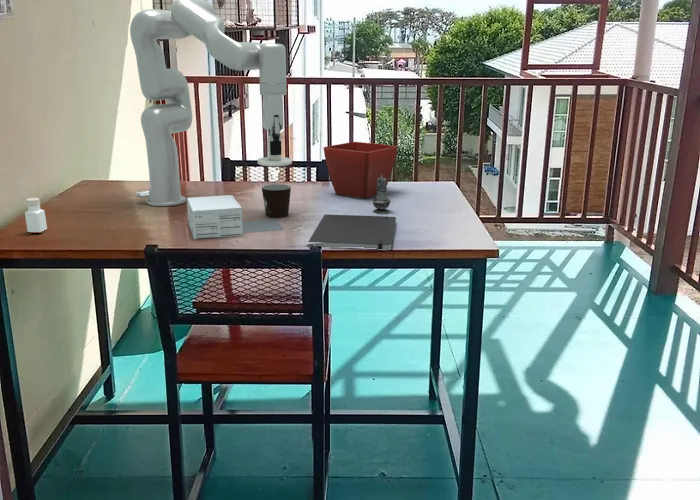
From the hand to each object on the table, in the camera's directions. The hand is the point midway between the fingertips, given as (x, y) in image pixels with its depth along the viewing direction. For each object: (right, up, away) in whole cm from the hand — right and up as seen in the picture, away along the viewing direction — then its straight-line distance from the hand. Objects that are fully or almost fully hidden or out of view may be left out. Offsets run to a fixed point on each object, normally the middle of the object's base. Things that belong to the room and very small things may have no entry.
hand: (274, 153), depth 188 cm
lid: (0, -3, +1) cm, 3 cm away
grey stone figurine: (+32, -16, +16) cm, 39 cm away
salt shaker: (-65, -24, -9) cm, 70 cm away
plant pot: (+26, -9, +40) cm, 48 cm away
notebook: (+23, -25, -8) cm, 35 cm away
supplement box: (-15, -24, -9) cm, 30 cm away
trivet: (-3, -23, -6) cm, 24 cm away
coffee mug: (0, -19, +7) cm, 20 cm away
